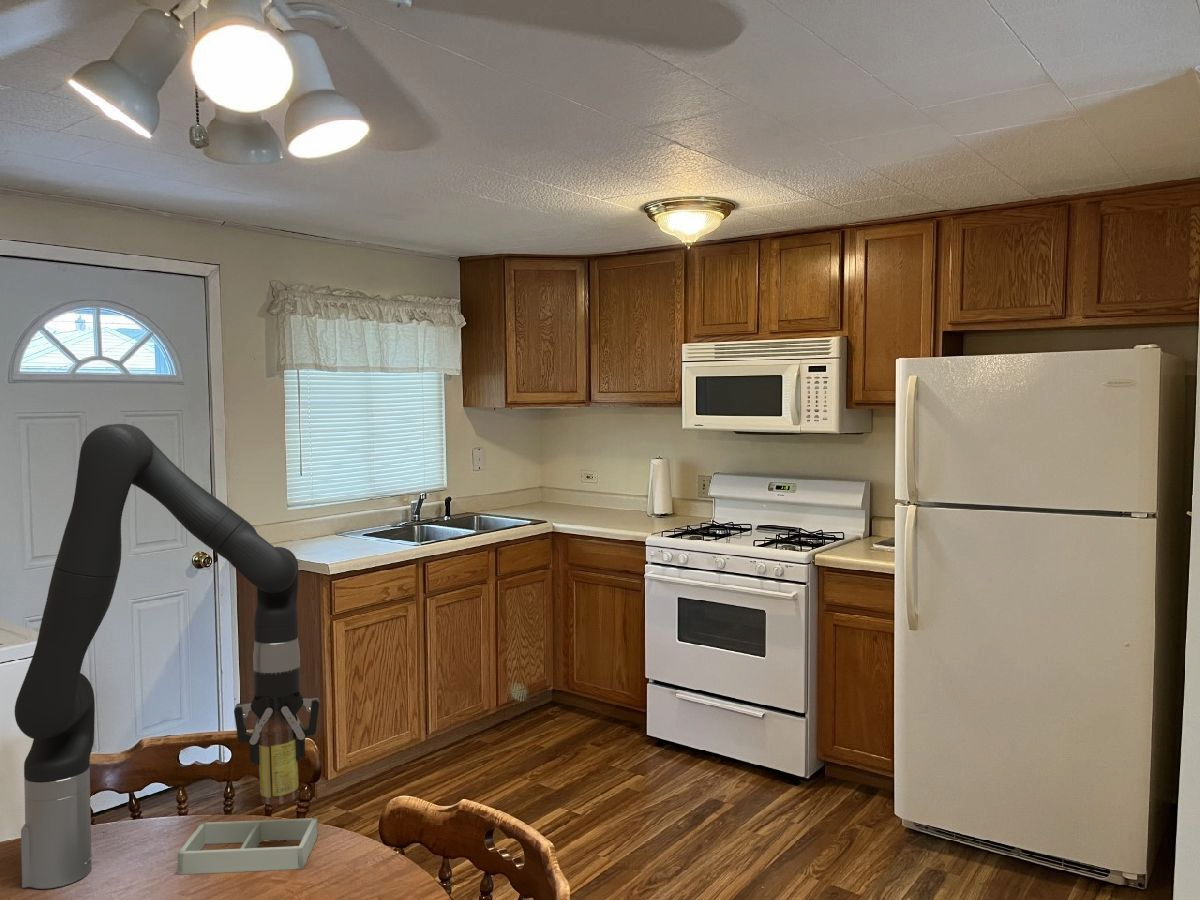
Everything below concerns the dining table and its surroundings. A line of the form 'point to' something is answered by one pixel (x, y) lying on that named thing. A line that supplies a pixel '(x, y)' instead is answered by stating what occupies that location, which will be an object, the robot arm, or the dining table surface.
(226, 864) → the corral
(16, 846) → the dining table surface
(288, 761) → the sauce bottle
